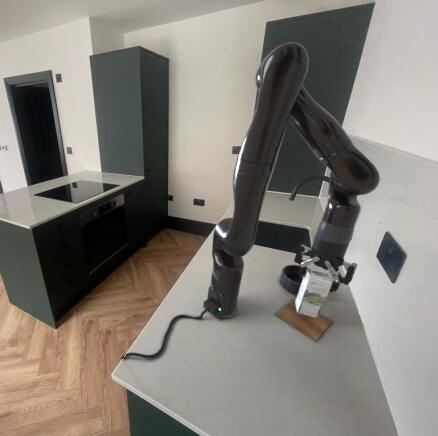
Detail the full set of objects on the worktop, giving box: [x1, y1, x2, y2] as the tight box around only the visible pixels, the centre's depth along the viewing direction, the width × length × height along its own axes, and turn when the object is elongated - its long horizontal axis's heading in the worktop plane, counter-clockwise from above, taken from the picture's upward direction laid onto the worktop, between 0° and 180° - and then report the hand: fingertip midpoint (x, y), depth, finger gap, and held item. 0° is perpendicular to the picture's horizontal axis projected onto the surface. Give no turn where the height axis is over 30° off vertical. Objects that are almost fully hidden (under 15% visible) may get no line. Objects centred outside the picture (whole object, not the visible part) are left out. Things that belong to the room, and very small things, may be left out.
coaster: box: [275, 299, 333, 342], centre depth 76 cm, size 12×12×1 cm
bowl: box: [278, 264, 311, 297], centre depth 89 cm, size 14×14×6 cm
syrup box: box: [294, 267, 333, 319], centre depth 72 cm, size 6×6×14 cm
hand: (316, 283), depth 70 cm, fingers closed on syrup box, 7 cm apart
